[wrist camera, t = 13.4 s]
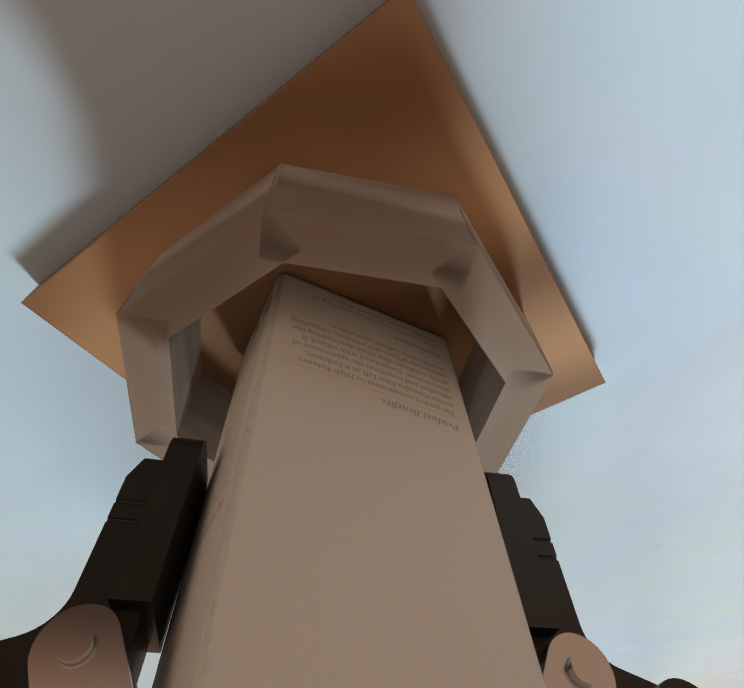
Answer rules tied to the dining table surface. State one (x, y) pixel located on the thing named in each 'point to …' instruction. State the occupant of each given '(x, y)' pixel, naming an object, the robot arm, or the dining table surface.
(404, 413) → the skincare box
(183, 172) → the collar dock
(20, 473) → the dining table surface
